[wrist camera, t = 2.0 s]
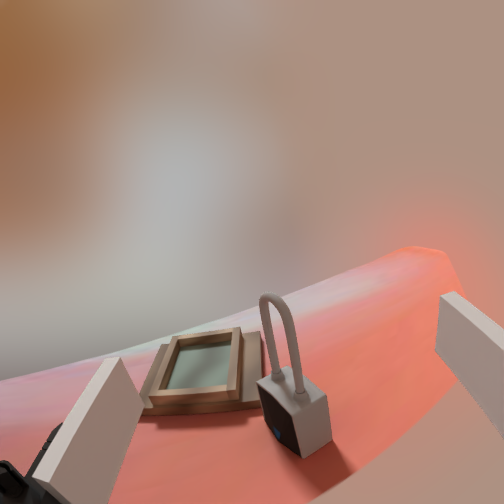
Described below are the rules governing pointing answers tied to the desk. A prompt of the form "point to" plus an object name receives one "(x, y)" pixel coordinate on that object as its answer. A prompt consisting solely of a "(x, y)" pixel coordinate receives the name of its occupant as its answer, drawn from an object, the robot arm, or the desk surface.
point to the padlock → (291, 391)
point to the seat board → (205, 374)
